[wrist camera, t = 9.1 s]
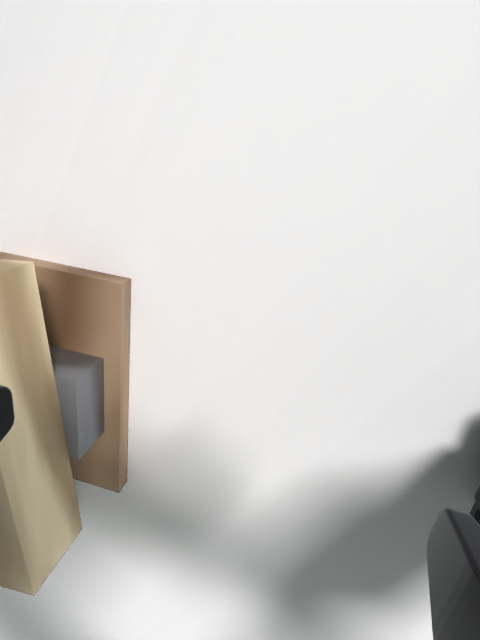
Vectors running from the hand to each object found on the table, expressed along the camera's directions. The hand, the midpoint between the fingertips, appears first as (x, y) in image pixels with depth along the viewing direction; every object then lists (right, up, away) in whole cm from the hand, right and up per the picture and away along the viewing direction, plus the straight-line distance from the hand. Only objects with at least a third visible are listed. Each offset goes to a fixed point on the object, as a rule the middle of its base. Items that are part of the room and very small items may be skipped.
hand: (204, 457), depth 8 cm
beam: (-10, -2, +13) cm, 17 cm away
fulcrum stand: (-10, -1, +16) cm, 19 cm away
